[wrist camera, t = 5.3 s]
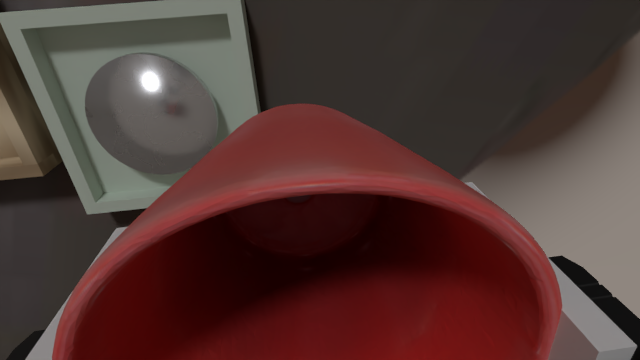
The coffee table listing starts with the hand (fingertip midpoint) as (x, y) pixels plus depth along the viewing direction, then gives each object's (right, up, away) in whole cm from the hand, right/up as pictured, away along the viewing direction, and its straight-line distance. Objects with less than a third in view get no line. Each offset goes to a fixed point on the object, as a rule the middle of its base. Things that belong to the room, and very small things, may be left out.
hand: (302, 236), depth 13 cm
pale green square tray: (-12, +8, +15) cm, 21 cm away
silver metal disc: (-11, +7, +14) cm, 19 cm away
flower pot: (0, +2, +4) cm, 4 cm away
